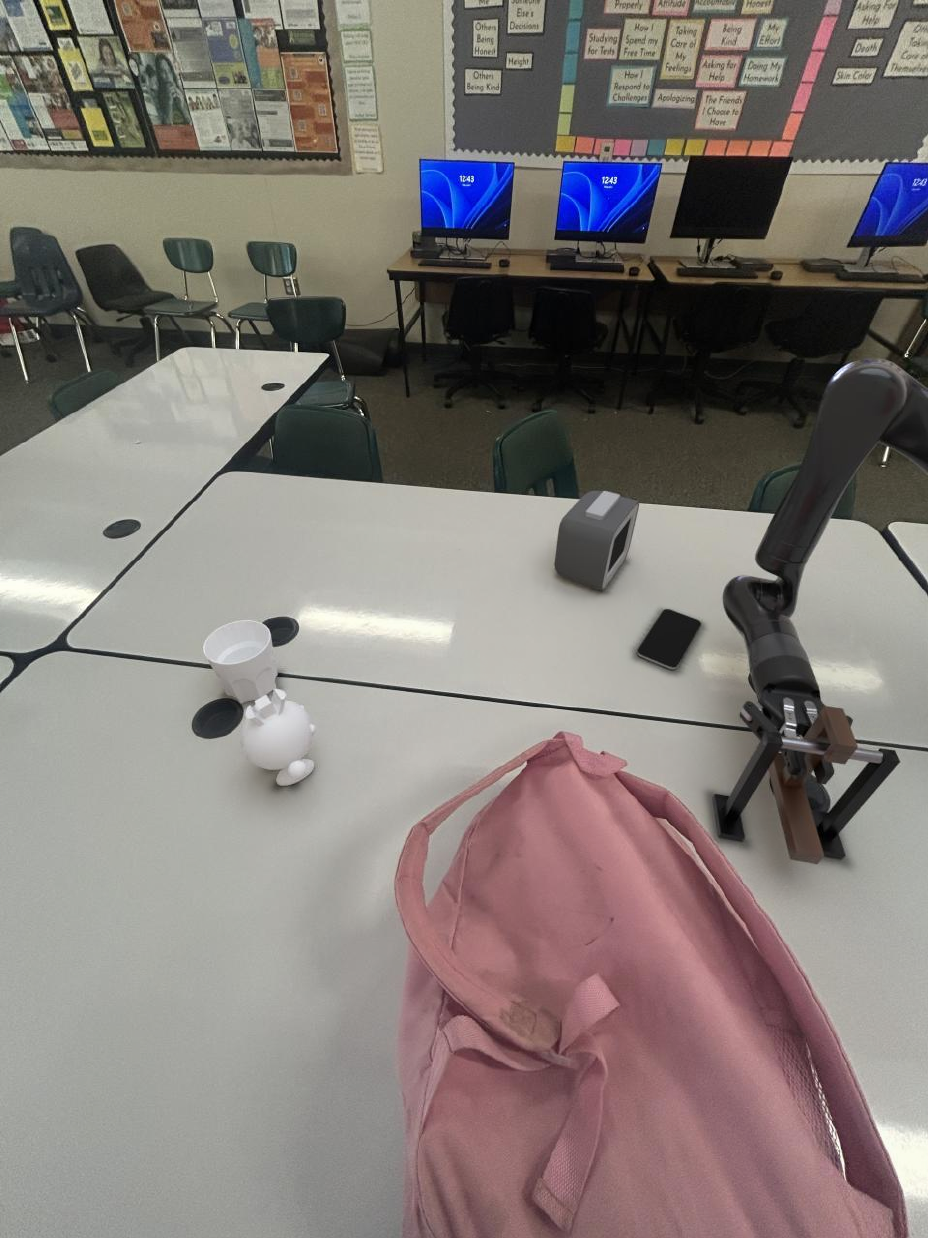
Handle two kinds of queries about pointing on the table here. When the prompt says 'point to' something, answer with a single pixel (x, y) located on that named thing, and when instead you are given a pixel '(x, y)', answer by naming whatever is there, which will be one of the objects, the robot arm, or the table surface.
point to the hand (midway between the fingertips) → (813, 778)
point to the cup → (242, 659)
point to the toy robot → (278, 737)
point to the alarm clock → (595, 538)
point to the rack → (825, 822)
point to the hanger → (792, 792)
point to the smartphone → (669, 639)
